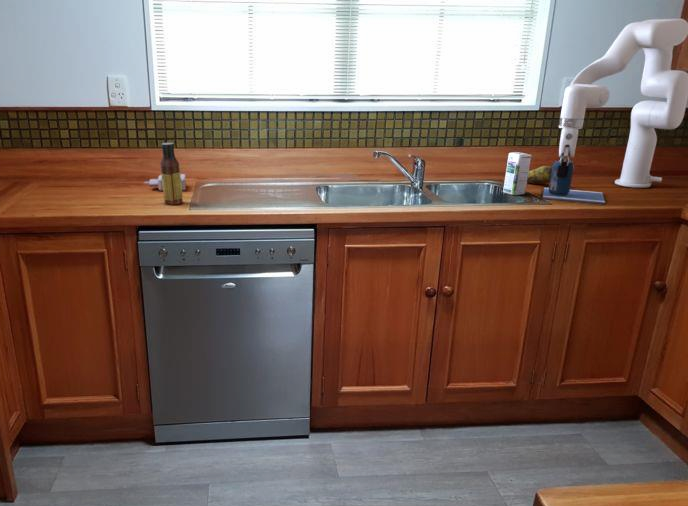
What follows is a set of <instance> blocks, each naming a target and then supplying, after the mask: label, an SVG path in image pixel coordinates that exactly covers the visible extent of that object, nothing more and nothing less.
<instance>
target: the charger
mask: <svg viewBox="0 0 688 506" xmlns="http://www.w3.org/2000/svg"><path fill="white" fill-rule="evenodd" d="M180 176H181V185H182V191H186V187H187V185H186V183H187V182H186V174H185V173H180ZM143 184H144V185H147V184H148V185H149V187H150V188H151V187H158V190H159V191H161V192H163V185H162V176H161V174H159V175H158V177H157V178H151V179H149V181H144V182H143Z"/></svg>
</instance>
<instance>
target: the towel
mask: <svg viewBox="0 0 688 506" xmlns="http://www.w3.org/2000/svg"><path fill="white" fill-rule="evenodd" d="M542 200H550V201H563V202H572V203H583V204H584V203H585V204H593V205H595V204H597V205H606V200H605V197H604V193H603V192H602V191H591V190H580V189H570V191H569V193H568V194H567V195H566V196H554V195H551V194H550V192H549V187H543V192H542Z"/></svg>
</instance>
